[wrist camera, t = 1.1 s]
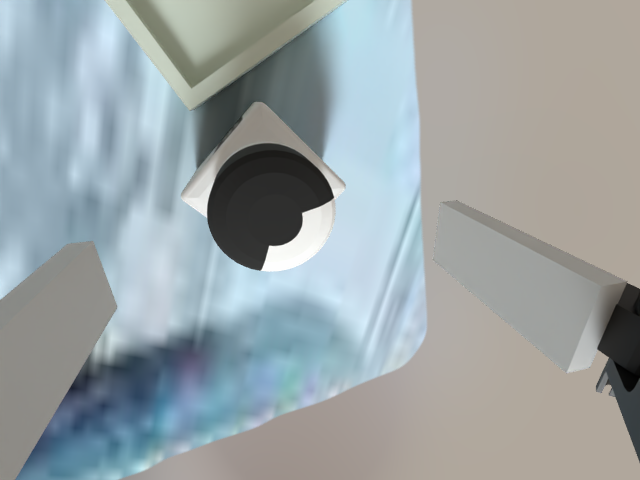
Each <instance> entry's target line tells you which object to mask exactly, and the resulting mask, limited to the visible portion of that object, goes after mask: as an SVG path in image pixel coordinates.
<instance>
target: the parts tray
mask: <svg viewBox="0 0 640 480" xmlns="http://www.w3.org/2000/svg"><path fill="white" fill-rule="evenodd" d="M105 1H106V3H107V4H108V5H109V7H110V8H111V9H112V10H113V12H114V13H115V14H116V16H117V17H118V18H119V20H120V21H121V22H122V23H123V25H124V26H125V27H126V29H127V30H128V31H129V33H130V34H131V35H132V36H133V38H134V39H135V40H136V42H137V43H138V44H139V46H140V47H141V48H142V49H143V51H144V52H145V53H146V55H147V56H148V57H149V59H150V60H151V61H152V62H153V64H154V65H155V66H156V68H157V69H158V70H159V72H160V73H161V74H162V75H163V77H164V78H165V79H166V81H167V82H168V83H169V85H170V86H171V87H172V88H173V90H174V91H175V92H176V94H177V95H178V96H179V98H180V99H181V100H182V101H183V103H184V104H185V105H186V107H187V108H188V109H189V111H191V110H195V109H196V108H198V107H199V106H201V105H202V104H203V103H205V102H206V101H208V100H209V99H210V98H212V97H213V96H215V95H216V94H217V93H219V92H220V91H222V90H223V89H224V88H226V87H227V86H229V85H230V84H231V83H233V82H234V81H236V80H237V79H238V78H240V77H241V76H243V75H244V74H245V73H247V72H248V71H250V70H251V69H253V68H254V67H255V66H257V65H258V64H260V63H261V62H262V61H264V60H265V59H267V58H268V57H269V56H271V55H272V54H274V53H275V52H276V51H278V50H279V49H281V48H282V47H283V46H285V45H286V44H288V43H289V42H290V41H292V40H293V39H295V38H296V37H297V36H299V35H300V34H302V33H303V32H305V31H306V30H307V29H309V28H310V27H312V26H313V25H314V24H316V23H317V22H319V21H320V20H321V19H323V18H324V17H326V16H327V15H328V14H330V13H331V12H333V11H334V10H335V9H337V8H338V7H340V6H341V5H342V4H344V3H345V2H347V1H348V0H105Z"/></svg>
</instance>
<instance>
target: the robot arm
mask: <svg viewBox="0 0 640 480" xmlns="http://www.w3.org/2000/svg"><path fill="white" fill-rule="evenodd" d="M433 261H434V262H436V263H437V264H438V265H439V266H440V267H442V268H443V269H444V270H445V271H446V272H447V273H448V274H450V275H451V276H452V277H453V278H455V279H456V280H457V281H458V282H459V283H460V284H462V285H463V286H464V287H465V288H466V289H468V290H469V291H470V292H471V293H472V294H473V295H475V296H476V297H477V298H478V299H479V300H480V301H482V302H483V303H484V304H485V305H486V306H488V307H489V308H490V309H491V310H492V311H493V312H495V313H496V314H497V315H498V316H499V317H501V318H502V319H503V320H504V321H505V322H506V323H508V324H509V325H510V326H511V327H512V328H514V329H515V330H516V331H517V332H518V333H519V334H521V335H522V336H523V337H524V338H525V339H527V340H528V341H529V342H530V343H531V344H533V345H534V346H535V347H536V348H537V349H538V350H540V351H541V352H542V353H543V354H544V355H546V356H547V357H548V358H549V359H550V360H551V361H553V362H554V363H555V364H556V365H558V366H559V367H560V368H561V369H562V370H563V371H565V372H566V373H570V372H574V371H578V370H582V369H586V368H590V366H591V363H592V361H593V359H594V357H595V354H596V352H597V350H599V351H601V352H602V353H604V354H605V355H606V356H608V357H609V359H608V361H607V364H606V366H605V368H604V370H603V372H602V374H601V377H600V379H599V381H598V383H597V385H596V392H600V393H602V390H603V389H604V386H605V385H608V384H609V385H611V386H612V389H611V391H610V393H609V395H610V396H613V397H616V400H617V402H618V405H619V408H620V410H621V413H622V416H623V418H624V421H625V424H626V427H627V429H628V432H629V435H630V437H631V440H632V442H633V445H634V448H635V451H636V454H637V456H638V459H639V461H640V289H639V288H637V287H635V286H632V285H630V284H628V283H627V281H625V280H623V279H621V278H619V277H617V276H615V275H613V274H611V273H609V272H606V271H604V270H602V269H600V268H598V267H596V266H594V265H592V264H590V263H587V262H585V261H583V260H581V259H579V258H577V257H575V256H573V255H571V254H569V253H566V252H564V251H562V250H560V249H558V248H556V247H554V246H552V245H550V244H547V243H545V242H543V241H541V240H539V239H537V238H535V237H532V236H531V235H528V234H526V233H524V232H522V231H520V230H518V229H516V228H514V227H512V226H509V225H507V224H505V223H503V222H501V221H499V220H497V219H495V218H493V217H491V216H488V215H486V214H484V213H482V212H480V211H478V210H476V209H474V208H471V207H469V206H467V205H465V204H463V203H461V202H459V201H457V200H456V201H447V202H440V208H439V216H438V225H437V232H436V239H435V247H434V254H433ZM116 309H117V304H116V302H115V299H114V296H113V294H112V291H111V288H110V286H109V283H108V280H107V277H106V275H105V272H104V269H103V267H102V264H101V261H100V259H99V256H98V253H97V251H96V248H95V245H94V242H93V241H89V242H80V243H71V244H67V245H66V246H65V247H63V248H62V249H61V250H60V251H59V252H57V253H56V254H55V255H54V256H53V257H51V258H50V259H49V260H48V261H47V262H45V263H44V264H43V265H42V266H41V267H39V268H38V269H37V270H36V271H35V272H33V273H32V274H31V275H30V276H29V277H27V278H26V279H25V280H24V281H23V282H21V283H20V284H19V285H18V286H17V287H15V288H14V289H13V290H12V291H11V292H9V293H8V294H7V295H6V296H5V297H3V298H2V299H1V300H0V480H15V479H16V477H17V475H18V474H19V472H20V470H21V469H22V467H23V465H24V464H25V462H26V460H27V459H28V457H29V455H30V453H31V452H32V450H33V448H34V447H35V445H36V443H37V442H38V440H39V438H40V437H41V435H42V433H43V432H44V430H45V428H46V427H47V425H48V423H49V422H50V420H51V418H52V417H53V415H54V413H55V411H56V410H57V408H58V406H59V405H60V403H61V401H62V400H63V398H64V396H65V395H66V393H67V391H68V390H69V388H70V386H71V385H72V383H73V381H74V380H75V378H76V376H77V374H78V373H79V371H80V369H81V368H82V366H83V364H84V363H85V361H86V359H87V358H88V356H89V354H90V353H91V351H92V349H93V348H94V346H95V344H96V343H97V341H98V339H99V338H100V336H101V334H102V332H103V331H104V329H105V327H106V326H107V324H108V322H109V321H110V319H111V317H112V316H113V314H114V312H115V311H116Z"/></svg>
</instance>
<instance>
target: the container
mask: <svg viewBox="0 0 640 480" xmlns="http://www.w3.org/2000/svg"><path fill="white" fill-rule="evenodd" d="M345 186H346V185H345V183H344V182H343V181H342V180H341V179H340V178H339V177H338V176H337V175H336V174H335V173H334V172H333V171H332V170H331V169H330V168H329V167H328V166H327V165H326V164H325V163H324V162H323V161H322V160H321V159H320V158H319V157H318V156H317V155H316V154H315V153H314V152H313V151H312V150H311V149H310V148H309V147H308V146H307V145H306V144H305V143H304V142H303V141H302V140H301V139H300V138H299V137H298V136H297V135H296V134H295V133H294V132H293V131H292V130H291V129H290V128H289V127H288V126H287V125H286V124H285V123H284V122H283V121H282V120H281V119H280V118H279V117H278V116H277V115H276V114H275V113H274V112H273V111H272V110H271V109H270V108H269V107H268V106H267V105H266V104H264V103H263V102H254V103H252V104H251V106H250V107H249V108H248V109H247V110H246V112H245V113H244V114H243V115H242V116H241V118H240V119H239V120H238V121H237V122H236V123H235V125H234V126H233V127H232V128H231V129H230V131H229V132H228V133H227V134H226V135H225V137H224V138H223V139H222V140H221V141H220V142H219V144H218V145H217V146H216V147H215V148H214V150H213V151H212V152H211V153H210V154H209V156H208V157H207V158H206V159H205V160H204V162H203V163H202V164H201V165H200V166H199V167H198V169H197V170H196V171H195V173H194V175H193V176H192V178H191V179H190V181H189V182H188V184H187V185H186V187H185V188H184V190H183V191H182V193H181V198H182V200H183V201H184V202H186V203H187V204H188V205H190V206H191V207H193V208H194V209H195V210H197V211H198V212H200V213H201V214H202V215H204V216H205V217H207V219H208V224H209V228H210V231H211V234H212V236H213V238H214V240H215V242H216V243H217V245H218V246H219V247H220V249H221V250H222V251H223V252H224V253H225V254H226V255H227V256H228V257H229V258H231V259H232V260H234V261H235V262H237V263H239V264H241V265H243V266H245V267H248V268H251V269H255V270H259V271H281V270H286V269H290V268H293V267H295V266H298V265H300V264H302V263H304V262H305V261H307V260H309V259H310V258H311V257H313V256H314V255H315V254H316V253H317V252H318V251H319V250H320V249H321V248H322V246H323V245H324V244H325V242H326V241H327V239H328V237H329V235H330V233H331V231H332V228H333V225H334V220H335V200H336V199H337V197H338V196H339V195H340V194H341V193H342V192H343V191H344V190H345Z"/></svg>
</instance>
